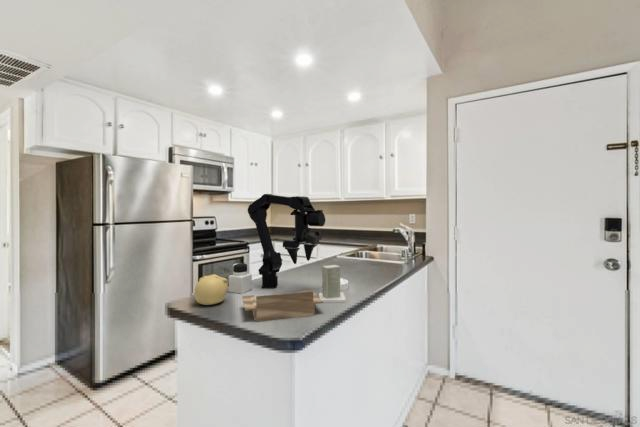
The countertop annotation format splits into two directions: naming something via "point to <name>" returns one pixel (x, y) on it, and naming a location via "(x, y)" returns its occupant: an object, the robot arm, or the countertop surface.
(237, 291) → the medicine bottle
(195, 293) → the yellow round lump
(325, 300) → the pad
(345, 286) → the round white container
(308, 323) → the countertop surface
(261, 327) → the countertop surface
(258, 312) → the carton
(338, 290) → the skincare box
